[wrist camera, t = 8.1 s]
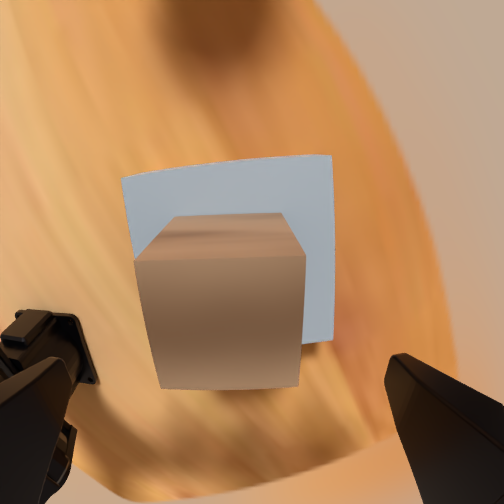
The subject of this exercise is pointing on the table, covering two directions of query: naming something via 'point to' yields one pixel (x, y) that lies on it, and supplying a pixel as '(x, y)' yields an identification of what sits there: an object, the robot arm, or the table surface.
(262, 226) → the walnut block
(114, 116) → the table surface
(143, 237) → the slate block
